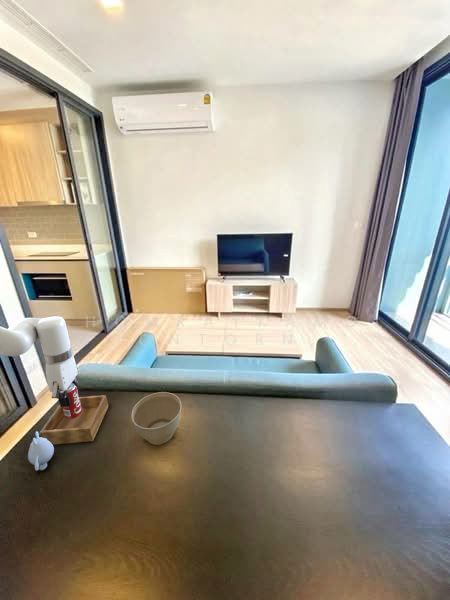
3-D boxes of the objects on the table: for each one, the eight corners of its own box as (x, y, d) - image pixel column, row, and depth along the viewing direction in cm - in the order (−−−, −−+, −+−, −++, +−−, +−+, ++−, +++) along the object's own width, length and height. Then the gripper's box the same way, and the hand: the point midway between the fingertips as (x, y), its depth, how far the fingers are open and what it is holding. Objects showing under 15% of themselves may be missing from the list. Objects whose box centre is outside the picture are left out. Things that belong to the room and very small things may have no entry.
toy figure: (38, 452, 80) (27, 424, 76) (60, 446, 82) (51, 418, 78) (27, 485, 71) (14, 454, 67) (53, 476, 73) (42, 447, 69)
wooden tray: (44, 445, 83) (39, 432, 81) (67, 409, 97) (63, 398, 95) (92, 440, 84) (89, 428, 82) (108, 406, 98) (106, 395, 96)
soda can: (78, 406, 92) (71, 380, 88) (85, 413, 89) (78, 386, 85) (62, 415, 88) (55, 388, 84) (69, 422, 85) (62, 394, 81)
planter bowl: (186, 414, 94) (184, 391, 91) (180, 453, 79) (177, 427, 75) (143, 415, 94) (139, 392, 90) (129, 455, 79) (124, 429, 75)
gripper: (60, 341, 88) (70, 383, 94) (29, 371, 72) (44, 419, 78) (82, 340, 88) (91, 382, 95) (56, 370, 72) (69, 418, 79)
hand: (70, 399), depth 86 cm, fingers closed on soda can, 5 cm apart
